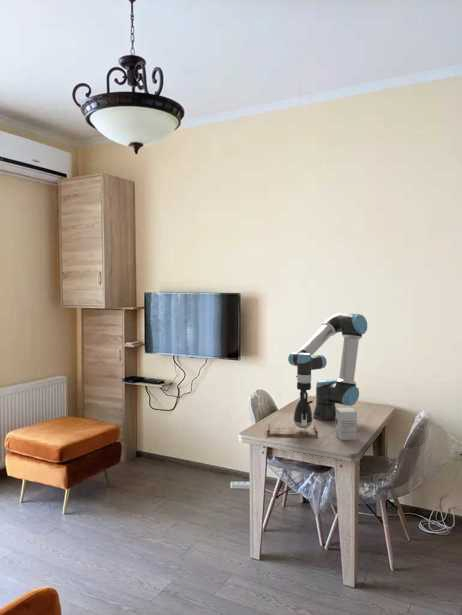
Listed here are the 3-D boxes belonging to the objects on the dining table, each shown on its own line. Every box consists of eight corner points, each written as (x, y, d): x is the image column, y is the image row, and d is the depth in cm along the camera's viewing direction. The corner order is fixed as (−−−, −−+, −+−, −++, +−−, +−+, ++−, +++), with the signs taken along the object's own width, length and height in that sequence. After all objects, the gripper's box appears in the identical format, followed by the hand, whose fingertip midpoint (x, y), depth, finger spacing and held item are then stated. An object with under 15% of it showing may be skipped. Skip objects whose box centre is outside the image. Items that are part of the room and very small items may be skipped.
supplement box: (334, 435, 259) (335, 407, 258) (351, 434, 259) (351, 407, 259) (340, 440, 250) (340, 411, 249) (356, 440, 250) (357, 411, 250)
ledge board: (315, 431, 266) (315, 424, 265) (317, 437, 254) (317, 431, 253) (268, 429, 268) (268, 423, 267) (268, 436, 256) (268, 429, 255)
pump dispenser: (315, 429, 256) (315, 401, 255) (296, 429, 254) (296, 401, 254) (309, 423, 266) (309, 396, 265) (291, 424, 264) (291, 397, 264)
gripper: (295, 377, 271) (295, 416, 271) (298, 385, 248) (297, 428, 249) (309, 378, 270) (308, 417, 271) (312, 386, 247) (312, 428, 248)
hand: (303, 422), depth 260 cm, fingers closed on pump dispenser, 10 cm apart
